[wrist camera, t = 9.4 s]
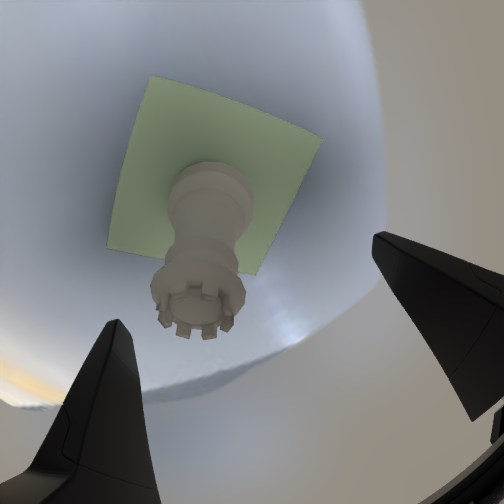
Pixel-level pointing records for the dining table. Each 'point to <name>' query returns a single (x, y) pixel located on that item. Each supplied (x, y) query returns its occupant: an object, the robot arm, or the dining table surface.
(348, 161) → the dining table surface
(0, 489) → the robot arm
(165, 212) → the sage block
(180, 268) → the rook chess piece
